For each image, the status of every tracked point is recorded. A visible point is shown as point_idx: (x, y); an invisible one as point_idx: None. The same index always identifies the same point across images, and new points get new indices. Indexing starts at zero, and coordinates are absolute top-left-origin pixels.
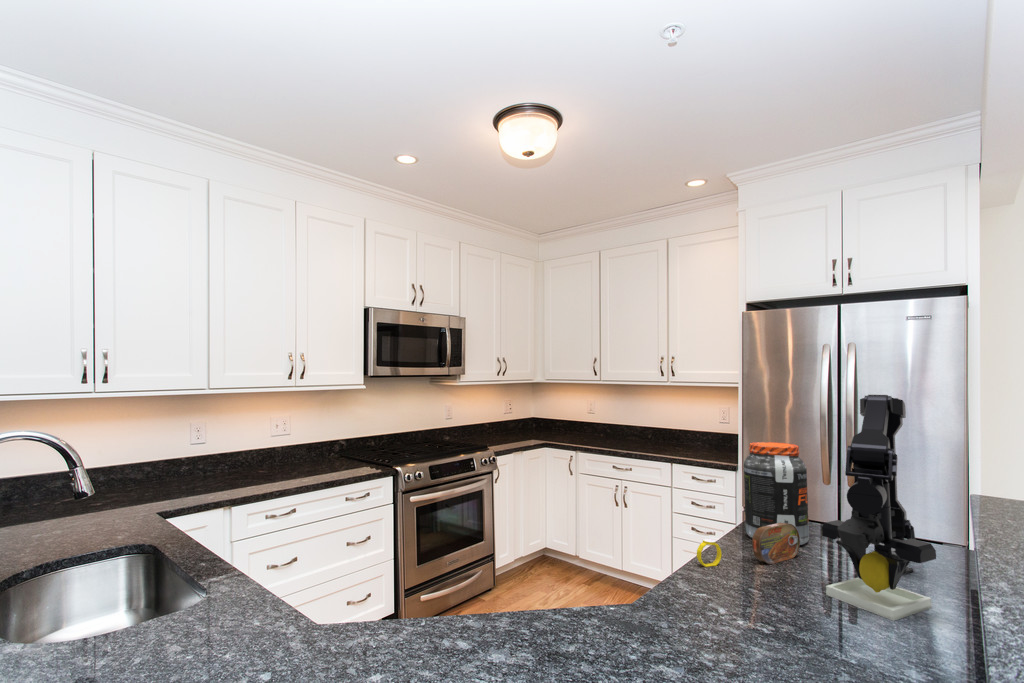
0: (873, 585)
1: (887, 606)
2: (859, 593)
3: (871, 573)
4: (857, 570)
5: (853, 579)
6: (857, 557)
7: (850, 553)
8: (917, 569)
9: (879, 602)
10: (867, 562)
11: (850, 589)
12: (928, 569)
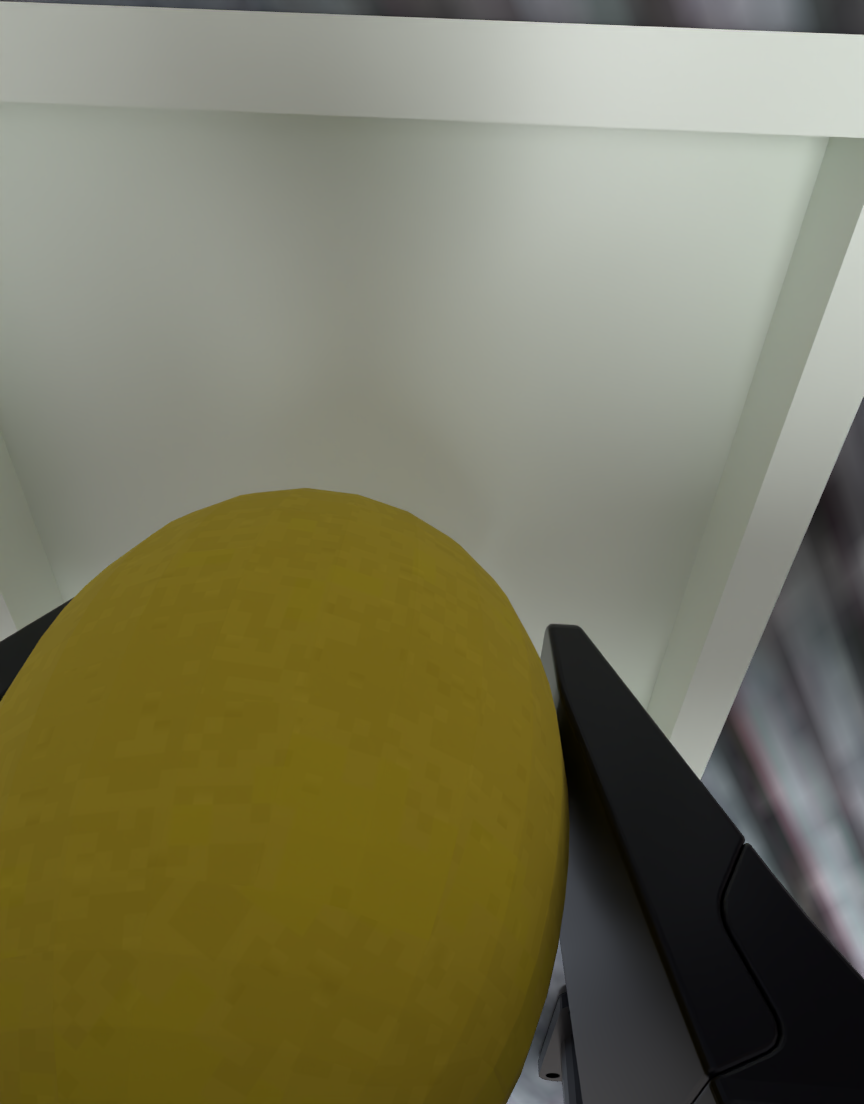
0: (251, 494)
1: (146, 374)
2: (554, 479)
3: (154, 603)
4: (609, 709)
5: (717, 688)
6: (645, 990)
7: (850, 1065)
8: (544, 1083)
9: (271, 415)
10: (207, 862)
11: (682, 507)
12: (510, 1100)
